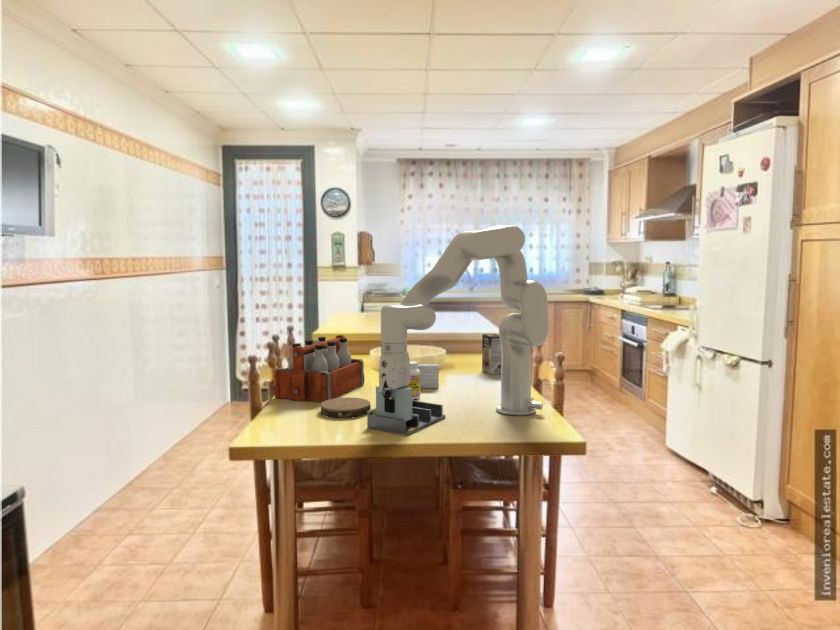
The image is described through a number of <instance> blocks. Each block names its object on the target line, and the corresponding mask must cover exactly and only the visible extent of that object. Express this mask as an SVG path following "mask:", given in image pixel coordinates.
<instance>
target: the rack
mask: <svg viewBox="0 0 840 630" xmlns="http://www.w3.org/2000/svg"><path fill="white" fill-rule="evenodd" d="M443 406H444V405H443V404H439V403H433V402H425V401H420V400H412V419H410V420H408V421H406V420H400V419H395V418H389V417H384V416H378V415H376V407H375V408H371V409H370V410H369V411H367V415H366V421H367V423H366V425H367V426H366V427H367V429H370V428H371V429H370V430H377V431H382V432H387V433H391V434H395V435H396V434H397V435H401V436H402V435H403V436H405V437H406V436H410V435H412V434H414V433H416V432H418V431H420V430H423V429H425V428H427V427H429V426H431V425H433V424H436V423H438V422H440V421H441V420H444V419H446V414H443V411H444V410H443Z"/></svg>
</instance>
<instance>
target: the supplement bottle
mask: <svg viewBox="0 0 840 630" xmlns="http://www.w3.org/2000/svg"><path fill="white" fill-rule="evenodd" d="M410 373H411V382H410V384H409V385H408V386H407V387H408V388H412V400H414V399H417V400H419V399H420V398H421V388H420V370H418V361H415V360H414V361H413V360H410Z"/></svg>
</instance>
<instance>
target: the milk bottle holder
mask: <svg viewBox="0 0 840 630" xmlns="http://www.w3.org/2000/svg"><path fill="white" fill-rule="evenodd" d="M326 338H327V337H325V336H318V337H317V340H318V341H317V342H316V343H314V340H313V339H307V340H304V346H301V343H299V342H296V343H294V342H293V343H292V344H291V345H292V347H291V350H292V354H291V357H290V359H289V361H288V367H285V368H284V367H278V368H276V369H275V372H274V381H275V382H274V383H275V384H274V385H273V386H274V390H273V392H274V398H275V399H289V400H291V401H298V402H306V401H307V402H308V401H309V402H310V401H311V402H317V401H318V402H319V403H322V402H324V401H326V400H330V399H335V398H338V397H339V396H341V395H344V394H346V393H349V392H350V391H352V390H354V389H356V388H359V386H361V387H363V386H364V385H365V380H366V379H365V373H364V369H365V368H364V360H363V359H362V358H360V359H359V358H352V354H351V352H350V351H349V349H348V344H349V341H348V337H345V336H344V335H343V334H338V335H336V337H335V338H332V339H328V340H326Z"/></svg>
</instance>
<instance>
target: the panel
mask: <svg viewBox="0 0 840 630" xmlns="http://www.w3.org/2000/svg"><path fill="white" fill-rule="evenodd" d="M379 386H380V385H377V386H375V408H376V415H378V416H384V417H389V418H395V419H400V420H406V421H408V420H410V419H412V388H408V387H401V388H398V389H395V390H394V395H393V399H395V412H394V413H388V412H385V410H384V398H383V395H382V394H381V393H380V392H379V391H378V389H379ZM387 388H389V387H387ZM388 392H389V393H390V390H388Z"/></svg>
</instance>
